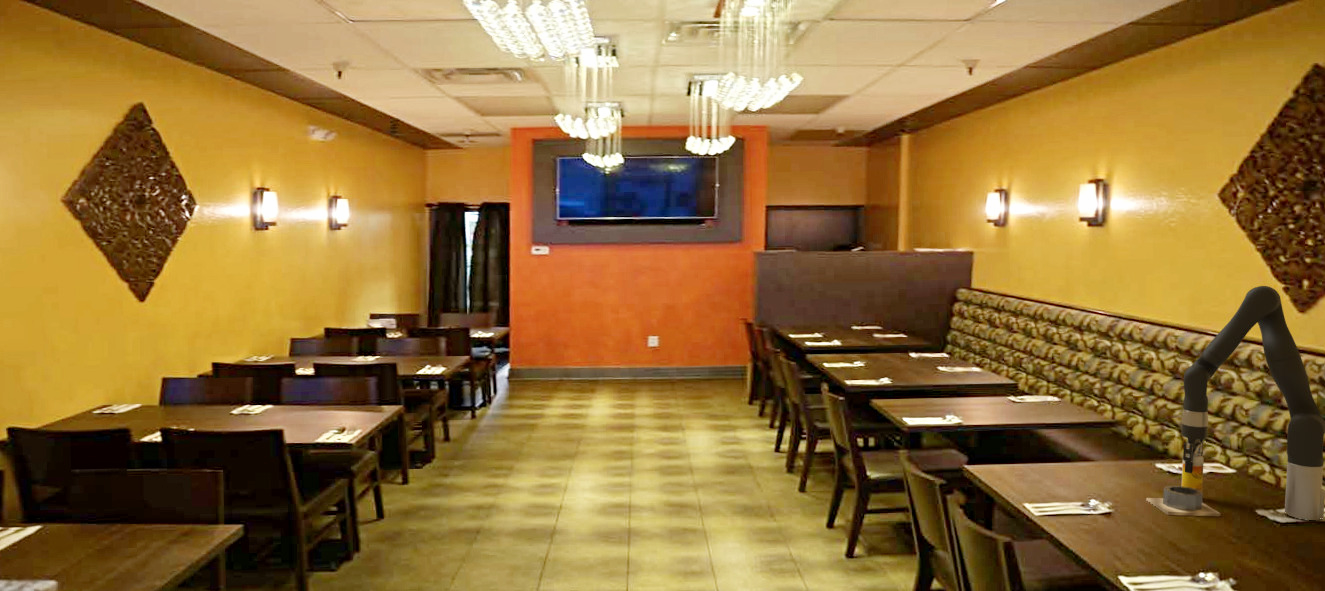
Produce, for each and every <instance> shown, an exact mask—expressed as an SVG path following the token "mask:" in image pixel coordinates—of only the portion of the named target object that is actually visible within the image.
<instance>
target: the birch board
mask: <svg viewBox="0 0 1325 591" xmlns="http://www.w3.org/2000/svg"><path fill="white" fill-rule="evenodd" d="M1147 501H1148V502H1147ZM1146 502H1147V503H1149V502H1150V503H1149V504H1151V505H1152V504H1153V505H1152V506H1154V507H1155V506H1156V508H1157V509H1158V510H1160V511H1161V512H1163V513H1164V514H1165V515H1167V516H1189V517H1190V516H1193V517H1195V516H1196V517H1197V516H1199V517H1221V512H1219V511H1217V510H1216V509H1214V508H1212V507H1210V506H1209V505H1207V504H1206V503H1204V502H1202V509H1201V510H1196V511H1190V510H1180V509H1175V508H1171V507H1168V506H1166V505H1165V504H1163V497H1162V498H1161V497H1146Z"/></svg>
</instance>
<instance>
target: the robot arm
mask: <svg viewBox="0 0 1325 591" xmlns="http://www.w3.org/2000/svg"><path fill="white" fill-rule="evenodd" d="M1282 305H1283V304H1282V300H1281V295H1280V294H1279V292H1278V291H1277V290H1276V289H1275V288H1273V287H1272V286H1267V285H1258V286H1256V287H1253V288H1251V289H1249V290H1248V291H1247V293H1246V294H1245V297H1244V299H1243V300H1242V301H1241V304H1240V306H1239V308H1238V309H1237V310H1236V312H1235V314H1234V315H1233V316H1232V318H1231V319H1230V320H1229V321H1228V323H1227V324H1226V325H1225V326H1224V327H1223V328H1222V329H1221V330H1220V332H1218V333H1217V334H1216V335H1215V337H1214V338H1213V339H1212V340H1211V341H1210V342H1209V344H1208V345H1207V346H1206V347H1205V348H1204V350H1203V351H1202V352H1201V355H1200V356H1199V357H1198V358H1197V359H1196V360H1195V361H1194V362H1193V363H1192V365H1190V367H1188V368H1186V370H1185V371H1184V375H1183V390H1184V392H1183V393H1184V398H1183V409H1182V410H1183V412H1182V416H1181V432H1180V433H1181V436H1182V437H1183V438H1187V441H1186V442H1184V443H1183V454H1182V461H1183V460H1184V461H1185V472H1186V473H1192V472H1193V462H1194V457H1196V456H1197V453H1198V454H1201V455H1202V456H1203V453H1204V452H1203V451H1204V449H1203V448H1204V440H1207V438H1208V426H1209V425H1208V424H1209V416H1208V415H1209V413H1208V411H1209V407H1208V406H1209V397H1208V394H1207V393H1208V382H1210V380H1211V379H1212V378H1213V376H1214V375H1215V374H1216V372H1217V371H1218V369H1220V367H1222V365H1223V364H1225V362H1226V361H1227V360H1228V359H1229V358H1230V357H1231V355H1233V353H1234V352H1235V351H1236V350H1237V348H1239V346H1240V344H1241V343H1242V341H1243V340H1244V338H1245V337H1246V336H1247V334H1248V333H1249V332H1250V331H1251V329H1253V327H1254V326H1255V325H1256V324H1258V327H1259V329H1260V334H1261V339H1262V348H1263V352H1264V356H1265V357H1264V358H1265V362H1266V364H1267V367H1268V370H1269V372H1270V375H1271V378H1272V379H1273V381H1274V383H1275V385H1276V386H1277V388H1278V390H1279V391H1280V393H1281V394H1282V395H1283V398H1284V400H1285V402H1286V406H1287V409H1288V412H1289V417H1290V418H1289V419H1290V421H1289V423H1288V426H1287V438H1286V441H1287V442H1286V453H1287V460H1286V462H1287V463H1286V479H1285V480H1286V481H1285V482H1286V483H1285V499H1284V500H1285V501H1284V513H1285V512H1286V513H1287V514H1288V515H1290V516H1293V517H1296V518H1300V519H1299V520H1301V519H1308V520H1307V521H1309V520H1316V521H1319V520H1318V519H1320V518H1323V519H1324V515H1325V513H1324V511H1325V489H1323V472H1324V440H1325V439H1324V438H1325V437H1324V436H1325V419H1324V417H1323V416H1322V414H1321V411H1320V410H1319V408H1318V405H1317V403H1316V401H1315V399H1314V397H1313V394H1312V391H1311V390H1312V389H1311V386H1310V382H1309V379H1308V378H1309V377H1308V374H1307V371H1306V368H1305V366H1304V362H1303V359H1302V357H1301V354H1300V352H1299V349H1298V347H1297V344H1296V342H1295V339H1294V337H1293V335H1292V333H1291V332H1290V329H1289V327H1288V324H1287V322H1286V318H1285V315H1284V310H1283V306H1282ZM1188 456H1190V458H1189V457H1188ZM1296 518H1295V519H1296ZM1320 520H1321V519H1320Z"/></svg>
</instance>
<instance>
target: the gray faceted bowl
mask: <svg viewBox="0 0 1325 591" xmlns="http://www.w3.org/2000/svg"><path fill="white" fill-rule="evenodd" d="M1203 493H1204V492H1203V491H1202V492H1201V491H1200V490H1198V489H1194V488H1190V487H1184V486H1182V485H1167V486H1164V487H1163V495H1162V498H1163V504H1165V505H1166V506H1168V507H1171V508H1175V509H1180V510H1190V511H1196V510H1201V509H1202V503H1203Z"/></svg>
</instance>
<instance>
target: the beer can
mask: <svg viewBox="0 0 1325 591" xmlns="http://www.w3.org/2000/svg"><path fill="white" fill-rule="evenodd" d="M1188 457H1189V458H1190V456H1188ZM1204 460H1205V459H1204V456H1203V454H1202V455H1201V454H1198V453H1197V456H1196V457H1194V462H1193V472H1192V473H1186V472H1185V461H1184V460H1183V459H1182V464H1181V465H1182V467H1181V468H1182V470H1181V471H1182V472H1181V486H1184V487H1190V488H1194V489H1198V490H1200V491H1201V492H1203V484H1204V483H1203V481H1204V479H1203V478H1204Z"/></svg>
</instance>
